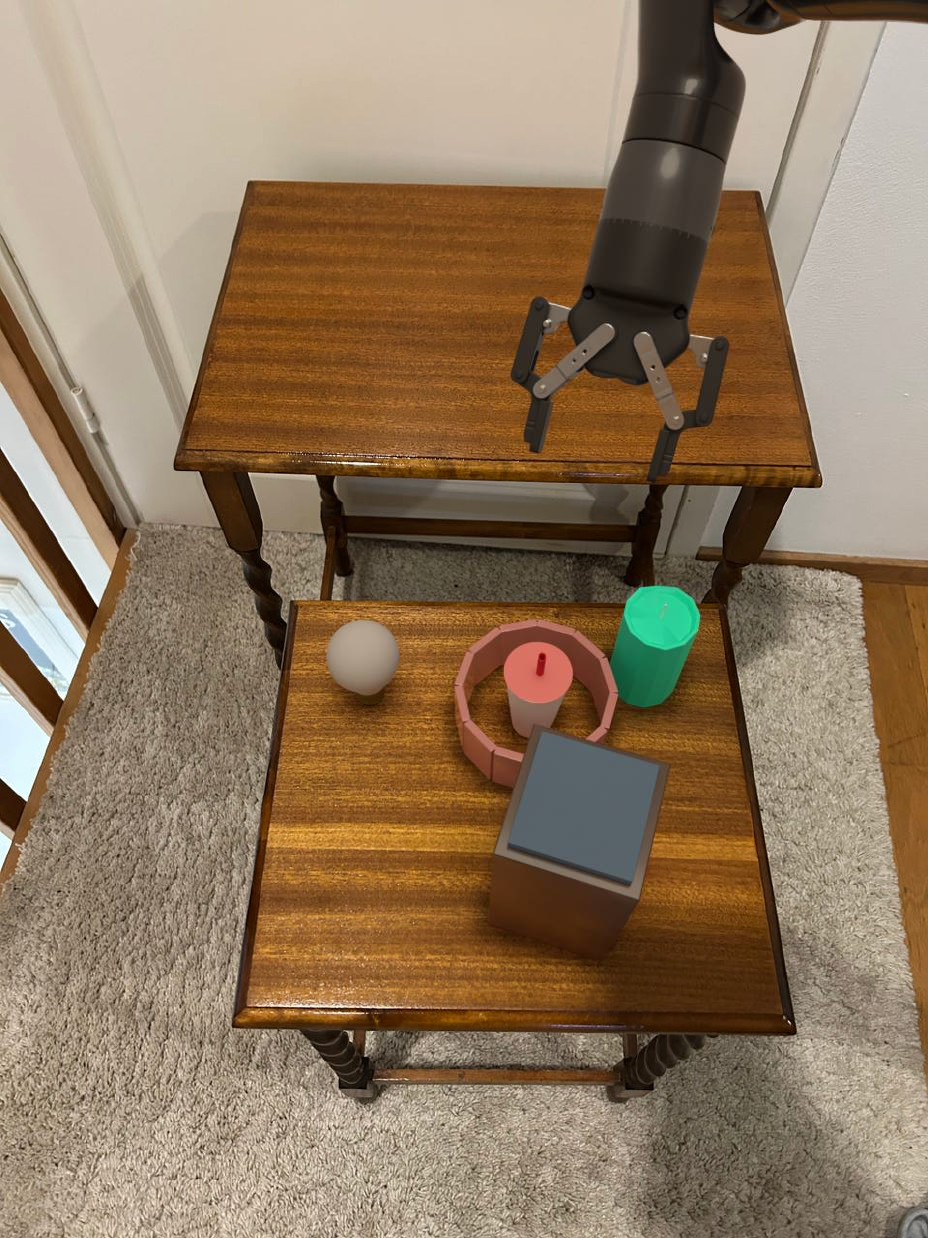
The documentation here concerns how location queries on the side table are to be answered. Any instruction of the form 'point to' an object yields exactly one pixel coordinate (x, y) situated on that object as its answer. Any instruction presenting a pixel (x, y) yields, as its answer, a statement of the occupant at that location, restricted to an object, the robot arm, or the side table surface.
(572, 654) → the pink segmented ring
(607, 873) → the coaster
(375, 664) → the light bulb
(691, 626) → the candle
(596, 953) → the stand
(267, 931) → the side table surface
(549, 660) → the cup
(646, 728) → the side table surface
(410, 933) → the side table surface
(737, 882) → the side table surface
